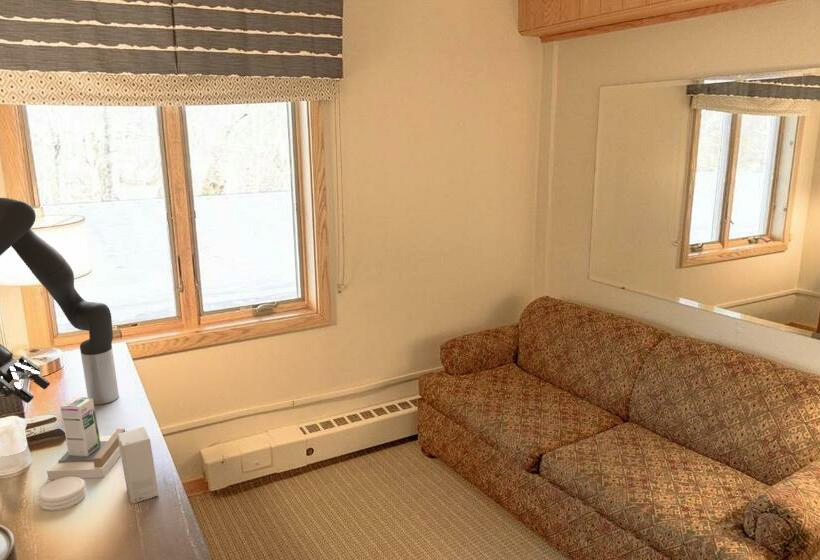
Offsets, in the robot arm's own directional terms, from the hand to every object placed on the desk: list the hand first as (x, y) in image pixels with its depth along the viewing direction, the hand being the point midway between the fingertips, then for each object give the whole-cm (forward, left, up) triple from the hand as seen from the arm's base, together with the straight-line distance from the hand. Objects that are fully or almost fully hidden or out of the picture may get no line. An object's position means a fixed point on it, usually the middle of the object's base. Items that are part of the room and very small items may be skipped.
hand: (39, 393), depth 167 cm
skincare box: (+17, +30, -20) cm, 40 cm away
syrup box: (0, +9, -17) cm, 20 cm away
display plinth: (0, +11, -20) cm, 23 cm away
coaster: (+18, +12, -21) cm, 30 cm away
